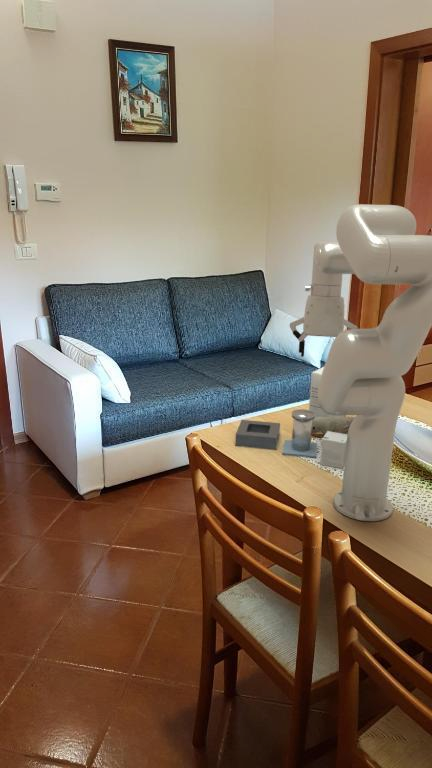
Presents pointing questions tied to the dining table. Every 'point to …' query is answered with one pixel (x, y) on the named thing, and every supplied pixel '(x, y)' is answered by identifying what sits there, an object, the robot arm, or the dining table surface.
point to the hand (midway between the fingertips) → (320, 356)
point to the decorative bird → (331, 424)
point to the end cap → (302, 429)
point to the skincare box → (333, 449)
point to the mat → (291, 452)
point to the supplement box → (316, 395)
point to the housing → (257, 434)
